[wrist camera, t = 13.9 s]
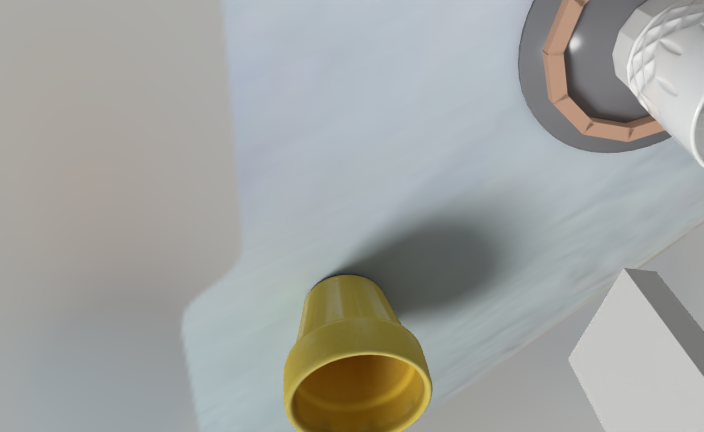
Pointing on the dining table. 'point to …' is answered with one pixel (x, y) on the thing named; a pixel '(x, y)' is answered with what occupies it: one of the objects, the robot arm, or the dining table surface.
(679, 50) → the white cup
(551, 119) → the trivet
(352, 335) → the plant pot
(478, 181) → the dining table surface
